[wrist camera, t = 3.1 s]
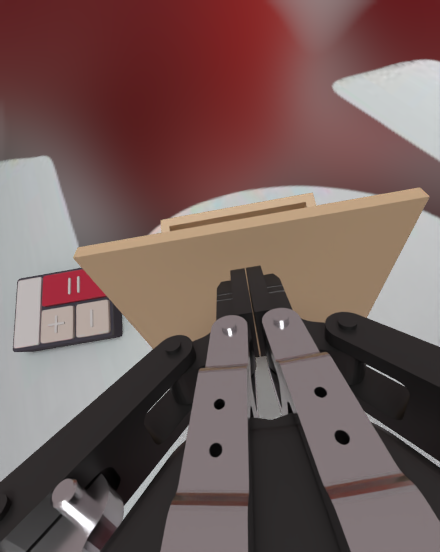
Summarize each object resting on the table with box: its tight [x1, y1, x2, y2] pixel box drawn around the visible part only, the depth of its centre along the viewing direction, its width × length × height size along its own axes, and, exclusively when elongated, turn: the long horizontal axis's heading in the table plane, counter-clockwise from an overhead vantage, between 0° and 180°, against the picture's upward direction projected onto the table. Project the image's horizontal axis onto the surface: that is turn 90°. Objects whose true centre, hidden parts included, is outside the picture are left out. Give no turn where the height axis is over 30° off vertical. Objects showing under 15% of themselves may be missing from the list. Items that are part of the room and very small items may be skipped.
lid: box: [73, 188, 429, 355], centre depth 19 cm, size 16×18×1 cm
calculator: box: [13, 268, 122, 352], centre depth 39 cm, size 11×4×15 cm
